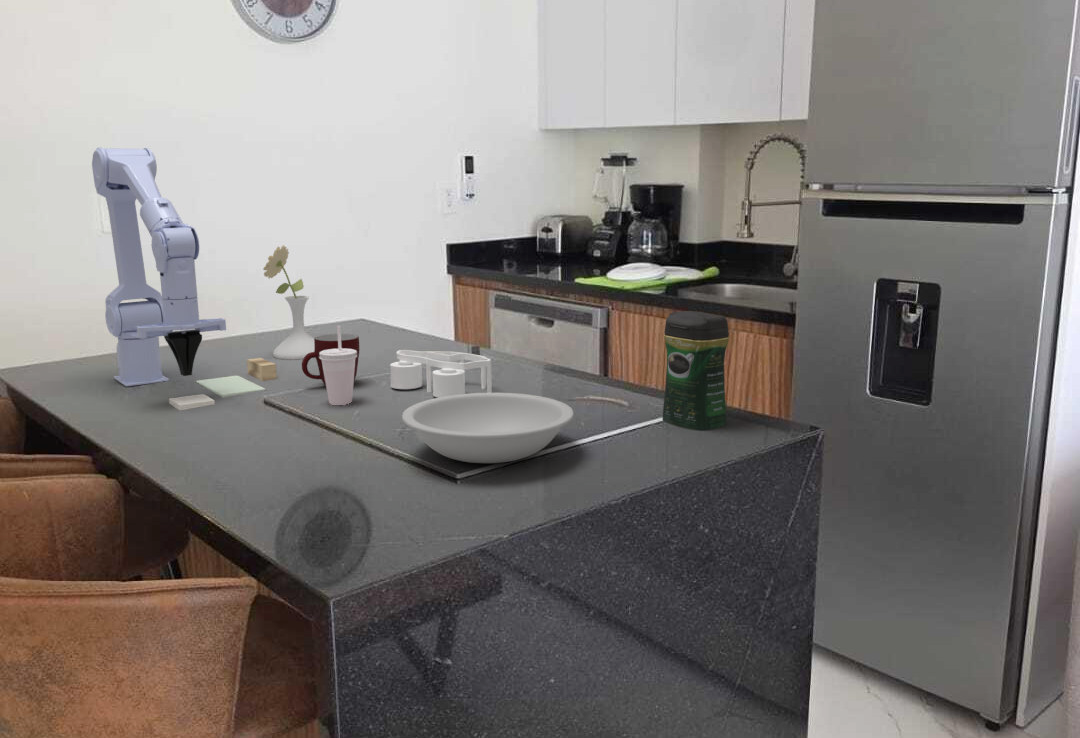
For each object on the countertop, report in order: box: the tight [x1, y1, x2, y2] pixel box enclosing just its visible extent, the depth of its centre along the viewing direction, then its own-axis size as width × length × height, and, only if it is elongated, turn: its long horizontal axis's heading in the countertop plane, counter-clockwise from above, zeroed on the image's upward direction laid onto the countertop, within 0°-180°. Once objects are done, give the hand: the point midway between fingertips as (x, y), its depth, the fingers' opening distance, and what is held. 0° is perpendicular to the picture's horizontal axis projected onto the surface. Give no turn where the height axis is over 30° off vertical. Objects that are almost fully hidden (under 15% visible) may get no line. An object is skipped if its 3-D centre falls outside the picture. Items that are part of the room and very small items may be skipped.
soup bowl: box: [401, 392, 575, 464], centre depth 132 cm, size 24×24×7 cm
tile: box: [168, 393, 216, 411], centre depth 164 cm, size 1×6×6 cm
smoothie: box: [319, 325, 357, 406], centre depth 160 cm, size 6×6×14 cm
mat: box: [195, 374, 266, 398], centre depth 176 cm, size 15×8×1 cm, turn 37°
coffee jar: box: [662, 310, 730, 432], centre depth 144 cm, size 10×8×19 cm
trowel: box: [246, 357, 278, 382], centre depth 180 cm, size 15×5×4 cm, turn 37°
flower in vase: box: [263, 244, 315, 361], centre depth 199 cm, size 13×11×25 cm
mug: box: [301, 333, 360, 387], centre depth 173 cm, size 11×8×10 cm
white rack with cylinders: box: [389, 349, 493, 398], centre depth 169 cm, size 20×11×7 cm, turn 50°
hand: (186, 374), depth 164 cm, fingers closed
